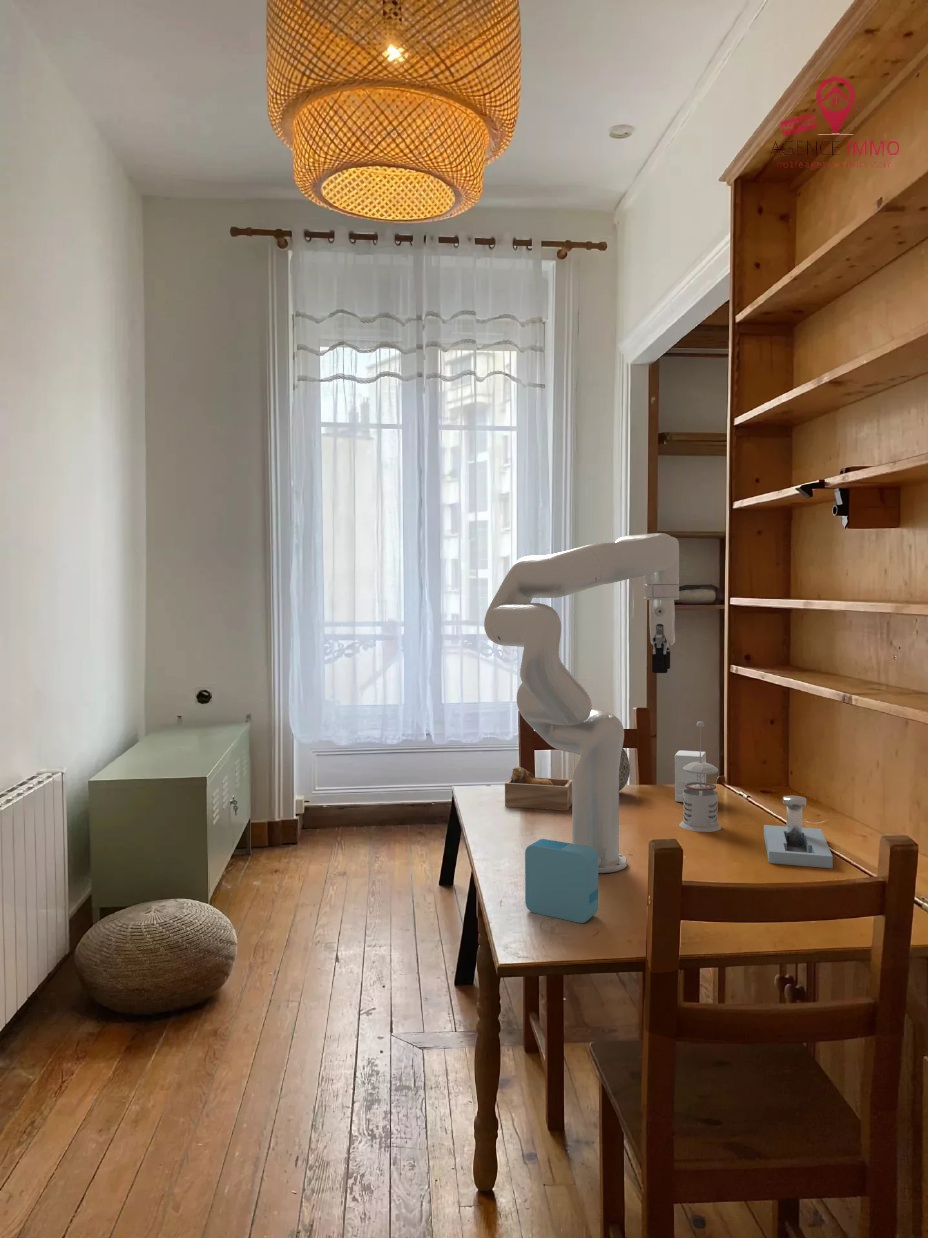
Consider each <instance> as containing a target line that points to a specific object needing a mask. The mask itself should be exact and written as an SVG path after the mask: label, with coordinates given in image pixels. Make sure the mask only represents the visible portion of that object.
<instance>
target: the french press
mask: <svg viewBox="0 0 928 1238" xmlns="http://www.w3.org/2000/svg"><path fill="white" fill-rule="evenodd" d="M696 727H698V728H699V752H700V761H698V762H692V763H689V764H688V765H686V766H684V767H683V769H684V770H685V771H686V772H689V773H694V774H697V782H694V783H693V782H689V783H686V784H685V786H686V788H688V789H686V790H684V791H683V797H684V798H683V802H682V803H683V805H682V813H683V814H682V817H683V818H682V821H681V822H680V823H679V824H678V825H679V827H680V828H682V829H684V830H687V831H692V832H698V833H699V832H700V833H711V832H718V831H720V830H722V829H723V827H722V825H721V824H720V823H719V821H718V819H719V817H718V815H719V811H718V810H719V809H718V808H719V806H718V805H719V804H718V802H719V801H718V799H719V795H718V791H716V790H715V789H716V788H717V786H716V785H715V784H713V783H709V782H706V783H705V774H706V775H713V774H717V773H718V772H719V769H718V767H716V766H715V765H714V764H711V763H708V762H706V763H705V762H702V761H701V752H702V728H703V727H705V723H704V721H702V720H701V721H697V722H696ZM698 774H700V776H698ZM701 774H704V776H701ZM698 777H700V782H699V783H698ZM701 777H704V782H703V783H701ZM699 791H702V796H699ZM684 800H685V802H684Z"/></svg>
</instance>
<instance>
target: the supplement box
mask: <svg viewBox="0 0 928 1238" xmlns="http://www.w3.org/2000/svg"><path fill="white" fill-rule="evenodd" d="M698 761H700V750H699V751H698V750H697V751H696V750H678V751H677V752H676V753H675V754H674V800H675V803H677V802H679V803H683V798H684V797H683V791H684V790H686V789H688V788H686V786H685V784H686V783H689V782H693V783H694V782H697V774H694V773H689V772H686V771H685V770H684V769H683V767H684V766H686V765H688V764H689V763H692V762H698ZM701 761H702V762H705V763H707V753H706V751H701ZM698 776H700V774H698ZM701 776H704V774H701ZM699 782H700V777H698V783H699ZM703 782H704V777H701V783H703ZM705 783H707V774H705ZM699 796H702V791H699ZM684 802H685V800H684Z"/></svg>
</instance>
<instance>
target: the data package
mask: <svg viewBox="0 0 928 1238" xmlns="http://www.w3.org/2000/svg"><path fill="white" fill-rule="evenodd" d="M524 876H525V877H524V880H525V881H524V882H525V883H524V885H525V888H524V889H525V890H524V891H525V892H524V893H525V897H524V900H525V901H524V902H525V906H526V908H527V910H528V911H529V912H531V913H534V914H537V915H541V916H546V917H550V918H555V919H560V920H564V921H568V922H573V923H578V924H585V923H586V922H588V921H589V920H590V919H591V918H592V917H593V916H595V915H596V913H598V910H599V873H598V854H597V852H596V850H595V849H594V848H592V847H589V846H583V845H577V844H572V843H570V842H564V841H558V840H554V839H553V840H552V839H545V838H541V839H540V838H539V839H538V840H537V841H535V842H533V843H531V844H530V845H527V847H526V848H525V851H524Z"/></svg>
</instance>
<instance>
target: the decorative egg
mask: <svg viewBox="0 0 928 1238" xmlns="http://www.w3.org/2000/svg"><path fill="white" fill-rule="evenodd" d="M630 768H631V767H630V760H629V757H628V754H627V752H626V750H625V749H624V747H622V752H621V757H620V767H619V792H620V791H621V790H622V789H623V788H625V786H626V784H628V782H629V777H630V774H631V773H630V772H631V769H630Z"/></svg>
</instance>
